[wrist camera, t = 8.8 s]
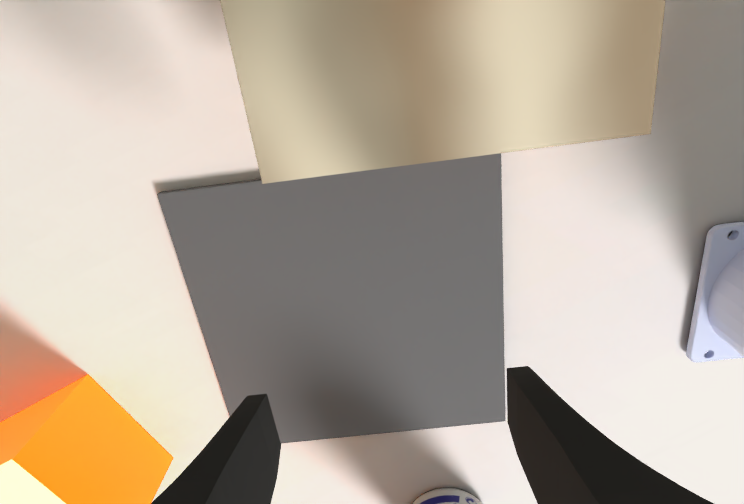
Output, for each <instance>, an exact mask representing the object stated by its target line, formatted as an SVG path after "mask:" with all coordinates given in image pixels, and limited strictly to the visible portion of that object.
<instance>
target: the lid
mask: <svg viewBox="0 0 744 504" xmlns="http://www.w3.org/2000/svg"><path fill="white" fill-rule="evenodd" d="M220 2H221V6H222V11H223V15H224V19H225V24H226V28H227V32H228V37H229V41H230V45H231V50H232V54H233V58H234V63H235V67H236V71H237V76H238V80H239V84H240V89H241V93H242V97H243V102H244V106H245V110H246V115H247V119H248V123H249V128H250V132H251V136H252V141H253V145H254V149H255V154H256V158H257V162H258V167H259V171H260V175H261V180H262V184H265V183H273V182H281V181H289V180H296V179H304V178H312V177H320V176H328V175H335V174H343V173H351V172H359V171H366V170H374V169H382V168H390V167H397V166H405V165H413V164H421V163H429V162H436V161H444V160H452V159H460V158H467V157H475V156H483V155H491V154H499V153H506V152H514V151H522V150H530V149H537V148H545V147H553V146H561V145H568V144H576V143H584V142H592V141H600V140H607V139H615V138H623V137H631V136H638V135H646V134H651V125H652V116H653V107H654V98H655V89H656V80H657V71H658V63H659V54H660V45H661V36H662V27H663V18H664V9H665V0H220Z"/></svg>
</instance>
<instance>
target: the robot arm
mask: <svg viewBox="0 0 744 504" xmlns="http://www.w3.org/2000/svg"><path fill="white" fill-rule="evenodd" d="M731 231H733V232H732V234H731V235H730V236H729V237H727V236H728V233H729V232H731ZM707 351H708V352H707ZM706 352H707V353H706ZM686 355H687V357H688V358H689V359H690V360H691V361H693V362H705V361H715V360H725V359H734V358H744V222H735V223H727V224H719V225H715V226H714V227H712V228H711V229H710V230H709V231H708V233H707V237H706V243H705V248H704V254H703V260H702V265H701V271H700V277H699V282H698V288H697V294H696V300H695V305H694V311H693V317H692V322H691V328H690V334H689V339H688V345H687V351H686ZM507 406H508V425H509V428H510V432H511V435H512V439H513V442H514V445H515V448H516V452H517V455H518V457H519V460H520V462H521V465H522V467H523V470H524V472H525V474H526V477H527V479H528V481H529V484H530V486H531V488H532V491H533V493H534V496H535V498H536V500H537V503H538V504H713V503H711V502H709V501H708V500H706V499H704V498H702V497H700V496H698V495H696V494H694V493H693V492H691V491H689V490H687V489H685V488H683V487H682V486H680V485H678V484H677V483H675V482H673V481H672V480H670V479H668V478H667V477H665V476H663V475H662V474H660V473H658V472H656V471H655V470H653V469H652V468H650V467H649V466H647V465H645V464H644V463H642V462H641V461H639V460H638V459H636V458H635V457H634V456H632V455H631V454H629V453H628V452H626V451H625V450H623V449H622V448H621V447H619V446H618V445H616V444H615V443H614V442H613V441H611V440H610V439H609V438H607V437H606V436H605V435H604V434H602V433H601V432H600V431H599V430H597V429H596V428H595V427H594V426H592V425H591V424H590V423H589V422H588V421H586V420H585V419H584V418H583V417H582V416H581V415H579V414H578V413H577V412H576V411H575V410H574V409H573V408H572V407H570V406H569V405H568V404H567V403H566V402H565V401H564V400H563V399H562V398H561V397H559V396H558V395H557V394H556V393H555V392H554V391H553V390H552V389H551V388H550V387H549V386H548V385H547V384H546V383H545V382H544V381H543V380H542V379H541V378H540V377H539V376H538V375H537V374H536V373H535V372H534V371H533V370H532V369H531V368H530V367H528V366H525V367H516V368H507ZM280 449H281V442H280V439H279V435H278V432H277V428H276V425H275V421H274V417H273V414H272V410H271V407H270V403H269V399H268V396H267V394H258V395H249V396H247V397H246V398H245V399H244V400H243V401H242V403H241V404H240V405H239V406H238V407H237V409H236V410H235V411H234V412H233V414H232V415H231V416H230V417H229V419H228V420H227V421H226V422H225V424H224V425H223V426H222V427H221V429H220V430H219V431H218V432H217V433H216V435H215V436H214V437H213V438H212V439H211V441H210V442H209V443H208V444H207V445H206V447H205V448H204V449H203V450H202V451H201V453H200V454H199V455H198V456H197V457H196V458H195V459H194V460H193V461H192V462H191V464H190V465H189V466H188V467H187V468H186V469H185V470H184V471H183V472H182V473H181V475H180V476H179V477H178V478H177V479H176V480H175V481H174V482H173V483H172V484H171V485H170V486H169V487H168V488H167V489H166V490H165V491H164V492H163V493H161V494H160V495H159V496H158V497H157V498H156V499H155V500H154V501H153V502H152V503H151V504H270V503H271V499H272V495H273V491H274V487H275V483H276V479H277V472H278V465H279V457H280Z"/></svg>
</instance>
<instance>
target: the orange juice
mask: <svg viewBox="0 0 744 504" xmlns="http://www.w3.org/2000/svg"><path fill="white" fill-rule="evenodd" d="M172 460H173V457H172V456H171V455H170V454H169V453H168V452H167V451H166V450H165V449H164V448H163V447H162V446H161V445H160V444H159V443H158V442H157V441H156V440H155V439H154V438H153V437H152V436H151V435H150V434H149V433H148V432H147V431H146V430H145V429H144V428H143V427H142V426H140V425H139V424H138V423H137V422H136V421H135V420H134V419H133V418H132V417H131V416H130V415H129V414H128V413H127V412H126V411H125V410H124V409H123V408H122V407H121V406H120V405H119V404H118V403H117V402H116V401H115V400H114V399H113V398H112V397H111V396H110V395H109V394H108V393H107V392H106V391H105V390H104V389H103V388H102V387H101V386H100V385H99V384H98V383H96V382H95V381H94V380H93V379H92V378H91V377H90V376H89V375H86V376H84V377H82V378H80V379H78V380H77V381H75V382H73V383H71V384H69V385H68V386H66V387H64V388H62V389H60V390H58V391H57V392H55V393H53V394H51V395H49V396H48V397H46V398H44V399H42V400H40V401H38V402H37V403H35V404H33V405H31V406H29V407H28V408H26V409H24V410H22V411H20V412H18V413H17V414H15V415H13V416H11V417H9V418H8V419H6V420H4V421H2V422H0V504H151V502H152V500H153V498H154V496H155V494H156V492H157V490H158V488H159V486H160V484H161V482H162V480H163V478H164V476H165V474H166V472H167V470H168V468H169V466H170V464H171V462H172Z"/></svg>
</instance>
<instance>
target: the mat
mask: <svg viewBox="0 0 744 504" xmlns="http://www.w3.org/2000/svg"><path fill="white" fill-rule="evenodd" d="M157 195H158V198H159V202H160V205H161V208H162V211H163V214H164V217H165V220H166V223H167V226H168V229H169V232H170V235H171V238H172V241H173V244H174V247H175V250H176V253H177V256H178V259H179V263H180V266H181V269H182V272H183V275H184V278H185V281H186V284H187V287H188V290H189V293H190V296H191V299H192V302H193V305H194V308H195V311H196V314H197V317H198V320H199V324H200V327H201V330H202V333H203V336H204V339H205V342H206V345H207V348H208V351H209V354H210V357H211V360H212V363H213V366H214V369H215V372H216V375H217V378H218V381H219V384H220V388H221V391H222V394H223V397H224V400H225V403H226V406H227V409H228V412H229V415H230V416H231V415H232V414H233V412H234V411H235V410H236V409H237V407H238V406H239V405H240V404H241V403H242V401H243V400H244V399H245V398H246V397H247V396H249V395H258V394H267V396H268V399H269V403H270V407H271V410H272V414H273V417H274V421H275V425H276V428H277V432H278V435H279V439H280V442H281V443H289V442H299V441H309V440H319V439H329V438H339V437H350V436H360V435H370V434H380V433H390V432H400V431H410V430H420V429H430V428H440V427H450V426H460V425H471V424H481V423H491V422H501V421H505V375H504V314H503V252H502V191H501V153H499V154H491V155H483V156H475V157H467V158H460V159H452V160H444V161H436V162H429V163H421V164H413V165H405V166H397V167H390V168H382V169H374V170H366V171H359V172H351V173H343V174H335V175H328V176H320V177H312V178H304V179H296V180H289V181H281V182H273V183H265V184H262V180H261V179H258V180H251V181H243V182H235V183H227V184H219V185H212V186H204V187H196V188H188V189H181V190H173V191H165V192H160V193H159V194H157Z"/></svg>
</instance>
